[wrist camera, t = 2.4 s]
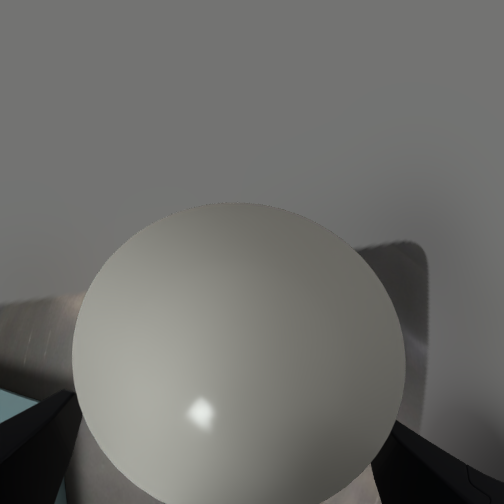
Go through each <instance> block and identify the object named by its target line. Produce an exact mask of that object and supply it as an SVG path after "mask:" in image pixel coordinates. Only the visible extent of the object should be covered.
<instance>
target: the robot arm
mask: <svg viewBox="0 0 504 504" xmlns="http://www.w3.org/2000/svg"><path fill="white" fill-rule="evenodd" d="M81 420H82V411H81V408H80V405H79V402H78V398H77V394H76V393H75V392H73V391H70V390H67V389H63V390H61V391H59V392H57V393H55V394H54V395H52V396H50V397H48V398H46V399H44V400H43V401H41V402H39V403H37V404H35V405H33V406H32V407H30V408H28V409H26V410H24V411H22V412H20V413H18V414H17V415H15V416H13V417H11V418H9V419H7V420H5V421H3V422H1V423H0V504H55V501H56V498H57V495H58V492H59V489H60V486H61V483H62V481H63V478H64V475H65V473H66V470H67V467H68V465H69V462H70V459H71V456H72V453H73V449H74V445H75V441H76V438H77V434H78V430H79V427H80V423H81ZM371 467H372V472H373V476H374V480H375V483H376V486H377V489H378V492H379V496H380V499H381V502H382V504H504V482H501V481H499V480H496V479H494V478H492V477H490V476H487V475H485V474H483V473H481V472H480V471H478V470H476V469H474V468H472V467H470V466H469V465H466V464H465V463H464V462H462V461H460V460H459V459H457V458H455V457H453V456H452V455H450V454H449V453H447V452H445V451H444V450H442V449H440V448H439V447H437V446H436V445H434V444H432V443H431V442H429V441H428V440H426V439H424V438H423V437H421V436H420V435H418V434H417V433H415V432H414V431H412V430H411V429H409V428H407V427H406V426H404V425H403V424H401V423H400V422H398V421H397V420H395V423H394V425H393V427H392V430H391V432H390V434H389V436H388V438H387V440H386V441H385V443H384V444H383V446H382V448H381V449H380V451H379V452H378V454H377V455H376V457H375V458H374V459H373V460H372V461H371Z"/></svg>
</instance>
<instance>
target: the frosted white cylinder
mask: <svg viewBox="0 0 504 504" xmlns="http://www.w3.org/2000/svg"><path fill="white" fill-rule="evenodd" d="M72 366H73V378H74V385H75V389H76V393H77V398H78V402H79V405H80V408H81V411H82V413H83V416H84V418H85V421H86V423H87V425H88V428H89V429H90V431H91V433H92V435H93V436H94V438H95V440H96V441H97V443H98V445H99V446H100V448H101V449H102V451H103V452H104V453H105V454H106V456H107V457H108V458H109V459H110V461H111V462H112V463H113V464H114V465H115V467H116V468H117V469H118V470H119V471H120V472H122V473H123V474H124V475H125V476H126V477H127V478H128V479H129V480H130V481H131V482H133V483H134V484H135V485H136V486H138V487H139V488H141V489H142V490H143V491H145V492H146V493H148V494H150V495H151V496H153V497H154V498H156V499H157V500H159V501H161V502H164V503H166V504H319V503H321V502H323V501H325V500H327V499H328V498H330V497H332V496H333V495H335V494H336V493H338V492H339V491H341V490H342V489H343V488H345V487H346V486H347V485H349V484H350V483H351V482H352V481H353V480H354V479H355V478H356V477H358V476H359V475H360V474H361V473H362V472H363V471H364V470H365V469H366V467H367V466H368V465H369V464H370V463H371V461H372V460H373V459H374V458H375V457H376V455H377V454H378V452H379V451H380V449H381V448H382V446H383V444H384V443H385V441H386V440H387V438H388V436H389V434H390V432H391V430H392V427H393V425H394V423H395V420H396V418H397V415H398V412H399V408H400V405H401V401H402V398H403V391H404V384H405V374H406V356H405V347H404V339H403V335H402V331H401V326H400V322H399V319H398V316H397V314H396V311H395V308H394V306H393V303H392V301H391V299H390V297H389V295H388V293H387V291H386V290H385V288H384V286H383V284H382V283H381V281H380V280H379V278H378V277H377V275H376V274H375V272H374V271H373V270H372V269H371V267H370V266H369V265H368V264H367V263H366V262H365V260H364V259H363V258H362V257H361V256H360V255H359V254H358V253H357V252H356V251H355V250H354V249H353V248H352V247H350V246H349V245H348V244H347V243H346V242H345V241H343V240H342V239H341V238H339V237H338V236H337V235H335V234H334V233H332V232H331V231H329V230H327V229H326V228H324V227H323V226H321V225H319V224H317V223H316V222H313V221H311V220H309V219H307V218H305V217H303V216H300V215H298V214H295V213H292V212H289V211H286V210H283V209H279V208H275V207H270V206H265V205H259V204H250V203H218V204H209V205H204V206H199V207H194V208H189V209H186V210H183V211H180V212H177V213H174V214H171V215H169V216H167V217H165V218H162V219H160V220H158V221H156V222H154V223H152V224H151V225H149V226H147V227H146V228H144V229H143V230H141V231H139V232H138V233H136V234H135V235H134V236H133V237H131V238H130V239H129V240H128V241H126V242H125V243H124V244H123V245H122V246H121V247H120V248H119V249H118V250H117V251H116V252H115V253H114V254H113V255H112V256H111V257H110V258H109V259H108V260H107V262H106V263H105V264H104V266H103V267H102V268H101V270H100V271H99V273H98V274H97V275H96V277H95V278H94V281H93V282H92V284H91V286H90V288H89V290H88V291H87V293H86V295H85V298H84V300H83V303H82V306H81V309H80V311H79V314H78V318H77V322H76V327H75V332H74V337H73V350H72Z"/></svg>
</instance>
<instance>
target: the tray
mask: <svg viewBox="0 0 504 504" xmlns="http://www.w3.org/2000/svg"><path fill="white" fill-rule="evenodd" d="M39 402H41V401H39V400H36V399H33V398H29V397H26V396H23V395H20V394H17V393H14V392H11V391H9V390H6V389H3V388H0V423H1V422H3V421H5V420H7V419H9V418H11V417H13V416H15V415H17V414H18V413H20V412H22V411H24V410H26V409H28V408H30V407H32V406H33V405H35V404H37V403H39ZM55 504H67V499H66V491H65V482H64V478H63V481H62V483H61V486H60V489H59V492H58V495H57V498H56V501H55Z"/></svg>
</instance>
